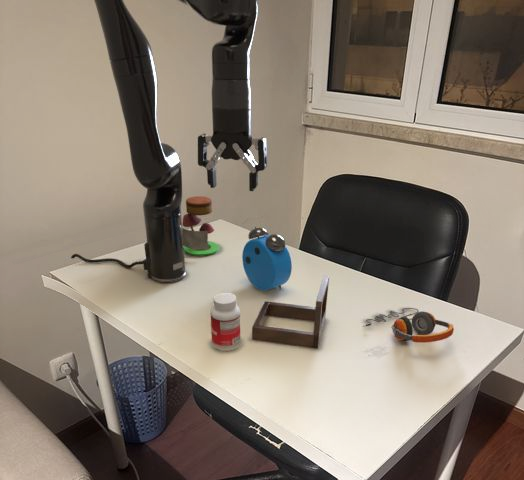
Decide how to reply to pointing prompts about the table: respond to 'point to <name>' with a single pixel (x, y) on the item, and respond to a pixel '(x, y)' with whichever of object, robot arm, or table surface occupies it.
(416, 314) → the headphones
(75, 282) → the table surface
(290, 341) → the wooden frame
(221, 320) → the pill bottle
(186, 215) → the multicoloured stacked figure
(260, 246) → the alarm clock
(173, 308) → the table surface
